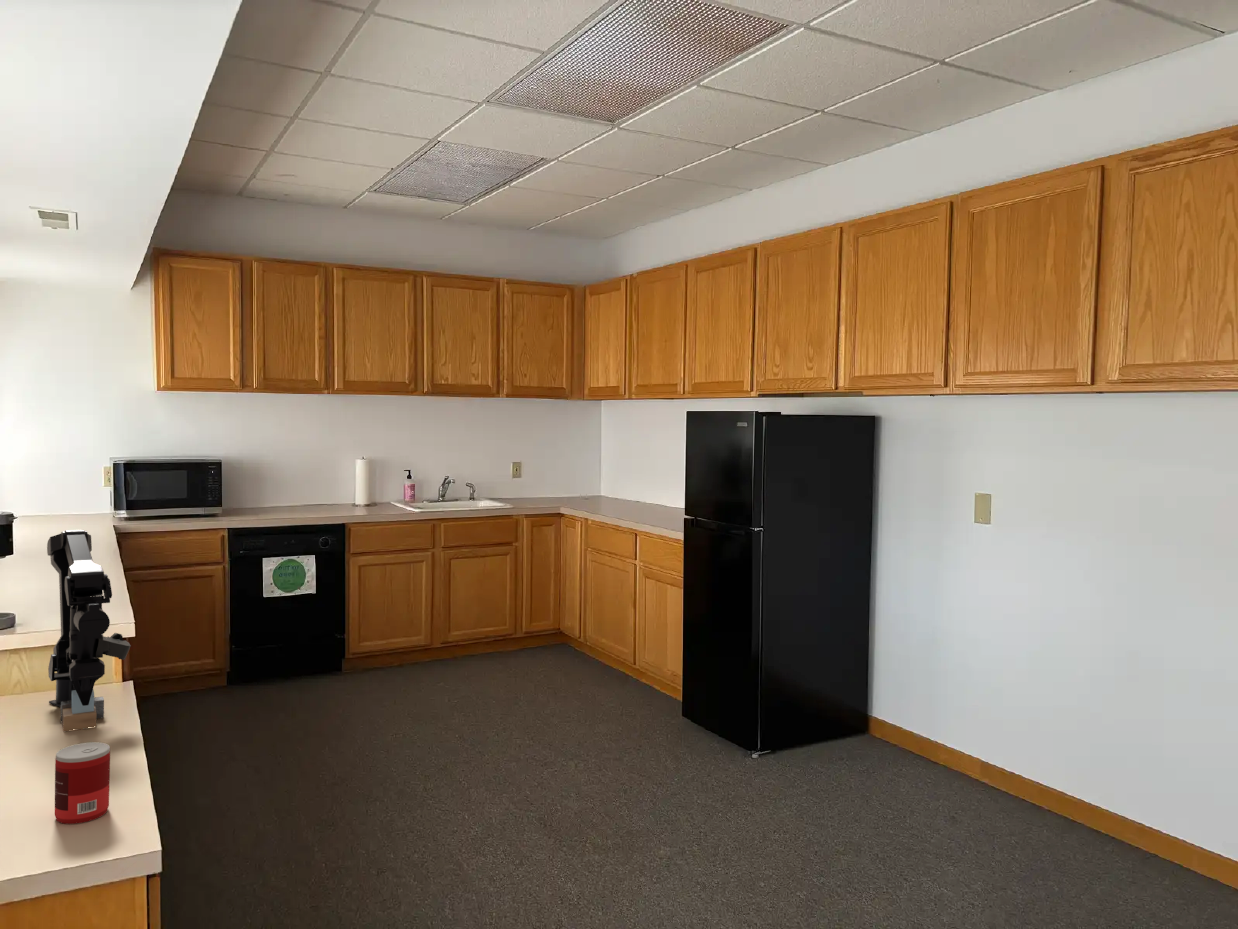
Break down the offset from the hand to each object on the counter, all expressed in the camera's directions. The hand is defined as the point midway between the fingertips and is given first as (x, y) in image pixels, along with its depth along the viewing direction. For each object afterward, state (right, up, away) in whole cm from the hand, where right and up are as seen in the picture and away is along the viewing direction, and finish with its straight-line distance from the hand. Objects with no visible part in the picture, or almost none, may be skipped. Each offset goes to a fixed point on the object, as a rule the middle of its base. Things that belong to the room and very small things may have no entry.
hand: (84, 699), depth 192 cm
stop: (-3, -5, +4) cm, 7 cm away
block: (0, -2, 0) cm, 2 cm away
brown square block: (-1, -6, 0) cm, 6 cm away
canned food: (+25, -8, -43) cm, 50 cm away
